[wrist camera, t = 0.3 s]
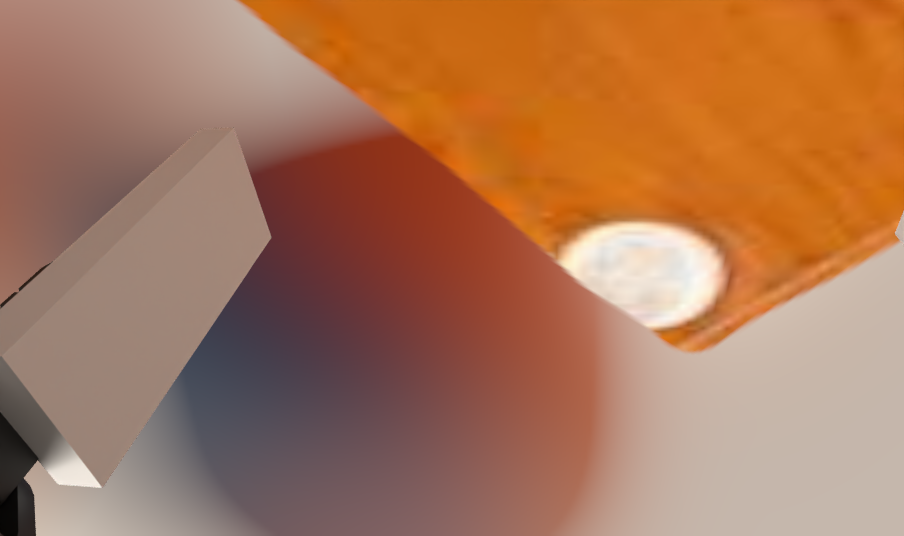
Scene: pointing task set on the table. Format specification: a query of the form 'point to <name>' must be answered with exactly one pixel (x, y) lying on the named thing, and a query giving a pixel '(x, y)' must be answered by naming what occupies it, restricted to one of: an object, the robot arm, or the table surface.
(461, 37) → the table surface
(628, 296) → the table surface
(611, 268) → the table surface
